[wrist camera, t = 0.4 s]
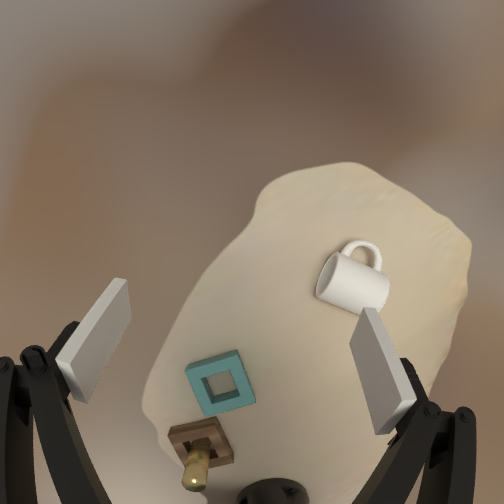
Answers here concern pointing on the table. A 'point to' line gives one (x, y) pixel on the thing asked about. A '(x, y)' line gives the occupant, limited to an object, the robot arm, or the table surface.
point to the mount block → (197, 431)
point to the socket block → (223, 401)
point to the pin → (197, 465)
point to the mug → (353, 280)
